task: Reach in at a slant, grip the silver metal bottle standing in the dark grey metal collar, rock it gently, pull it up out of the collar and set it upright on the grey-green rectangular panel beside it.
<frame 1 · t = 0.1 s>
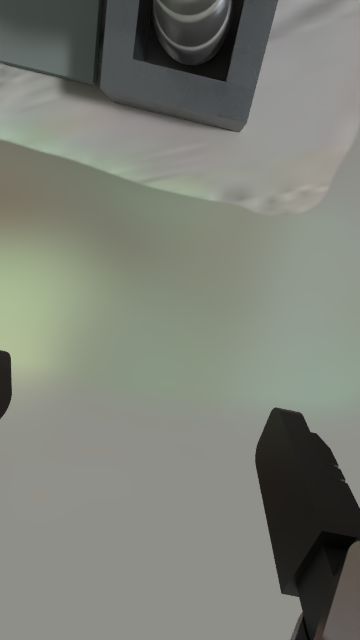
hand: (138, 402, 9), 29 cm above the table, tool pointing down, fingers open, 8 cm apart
silver metal bottle: (192, 30, 28), resting in metal collar
metal collar: (192, 29, 28), on the table
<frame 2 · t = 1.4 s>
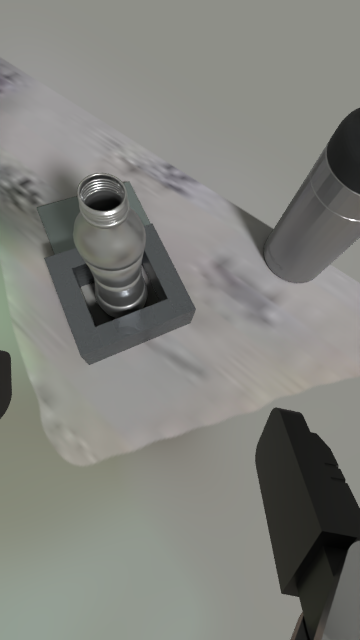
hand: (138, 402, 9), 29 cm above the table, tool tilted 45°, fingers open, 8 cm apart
grey-green rectangular panel: (96, 222, 45), on the table
silver metal bottle: (123, 300, 41), resting in metal collar
metal collar: (122, 300, 41), on the table
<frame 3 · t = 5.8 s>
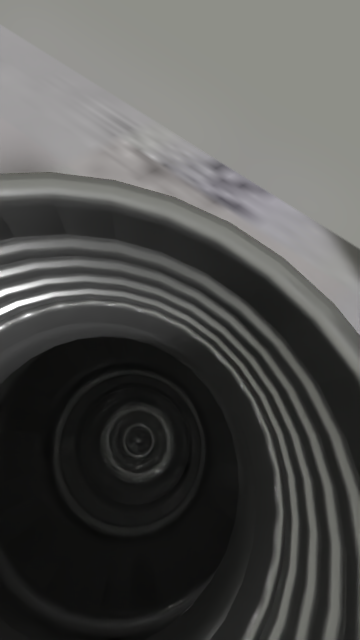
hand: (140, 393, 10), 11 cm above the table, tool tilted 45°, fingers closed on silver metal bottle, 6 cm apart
silver metal bottle: (138, 439, 20), resting in metal collar, touching gripper
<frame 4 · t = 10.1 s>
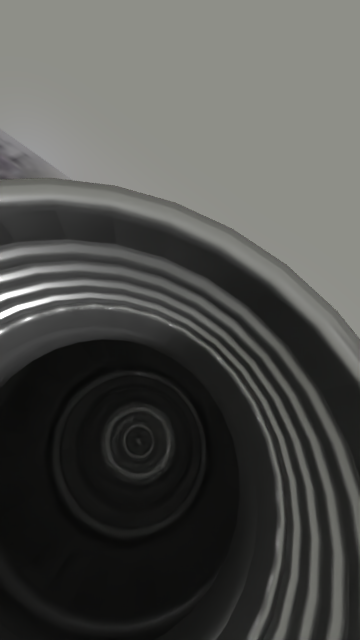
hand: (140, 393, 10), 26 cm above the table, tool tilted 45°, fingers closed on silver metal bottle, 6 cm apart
silver metal bottle: (138, 440, 20), point 14 cm above the table, touching gripper
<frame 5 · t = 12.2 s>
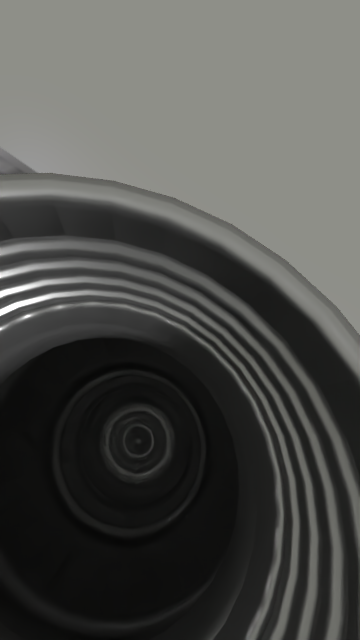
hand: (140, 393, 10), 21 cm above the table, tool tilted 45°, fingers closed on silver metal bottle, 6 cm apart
silver metal bottle: (138, 440, 20), point 9 cm above the table, touching gripper
when the fingers open (14 cm above the table, at t = 14.3 s): silver metal bottle drops 1 cm, resting on grey-green rectangular panel.
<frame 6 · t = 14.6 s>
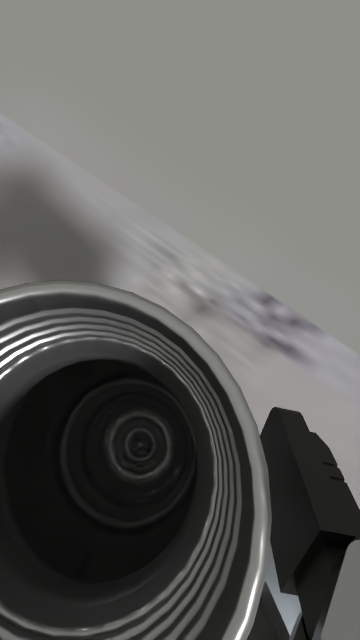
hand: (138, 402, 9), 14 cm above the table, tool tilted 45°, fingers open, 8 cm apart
silver metal bottle: (140, 443, 21), point 1 cm above the table, touching grey-green rectangular panel
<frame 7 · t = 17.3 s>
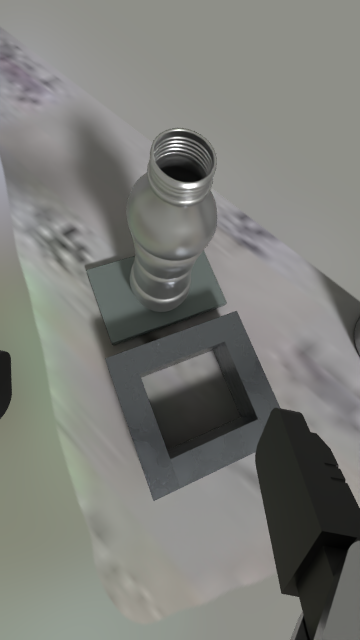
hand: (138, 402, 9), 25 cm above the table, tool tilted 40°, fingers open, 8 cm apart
grey-green rectangular panel: (157, 289, 36), on the table
silver metal bottle: (158, 289, 36), point 1 cm above the table, touching grey-green rectangular panel
metal collar: (190, 397, 34), on the table
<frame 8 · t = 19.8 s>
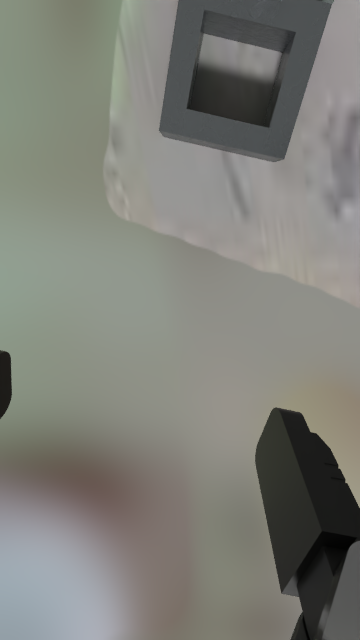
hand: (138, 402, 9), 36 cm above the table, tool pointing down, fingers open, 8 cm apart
metal collar: (233, 86, 35), on the table
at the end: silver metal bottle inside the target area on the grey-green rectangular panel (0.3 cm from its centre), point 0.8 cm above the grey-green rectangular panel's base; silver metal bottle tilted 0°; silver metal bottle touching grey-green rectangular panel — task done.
